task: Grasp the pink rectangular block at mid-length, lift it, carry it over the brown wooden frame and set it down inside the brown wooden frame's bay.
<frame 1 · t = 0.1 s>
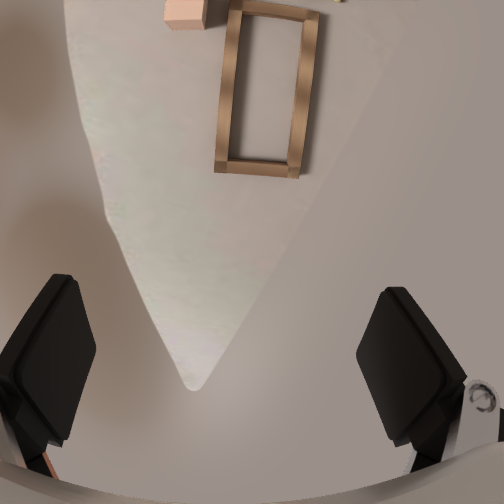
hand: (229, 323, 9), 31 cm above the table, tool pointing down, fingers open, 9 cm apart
brown wooden frame: (264, 87, 33), on the table
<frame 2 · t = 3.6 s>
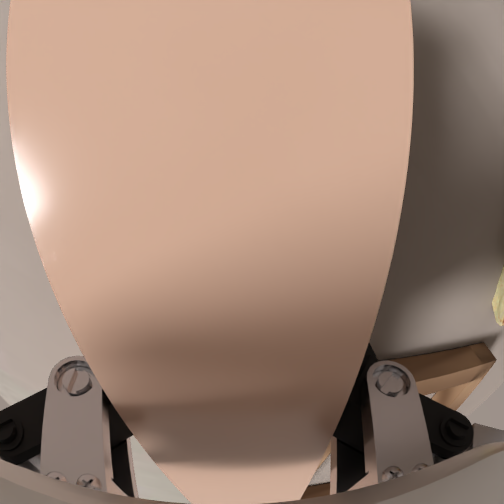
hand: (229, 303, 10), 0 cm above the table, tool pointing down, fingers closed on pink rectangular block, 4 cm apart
pink rectangular block: (228, 292, 10), on the table, touching gripper
brown wooden frame: (355, 448, 18), on the table
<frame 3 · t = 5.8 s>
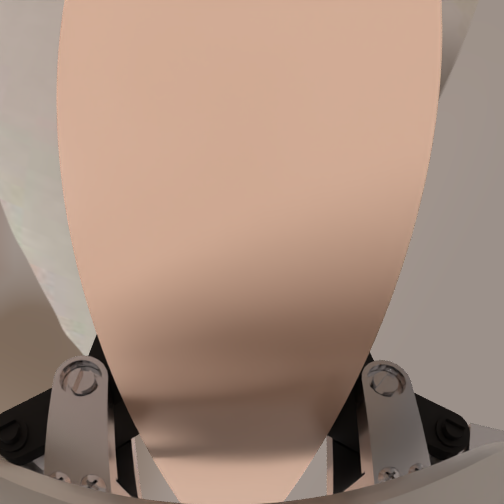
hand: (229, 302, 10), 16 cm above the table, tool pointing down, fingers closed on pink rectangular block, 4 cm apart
pink rectangular block: (228, 290, 10), point 15 cm above the table, touching gripper
when the fingers open (2 cm above the table, at t = 8.1 s): pink rectangular block drops 2 cm, resting in brown wooden frame.
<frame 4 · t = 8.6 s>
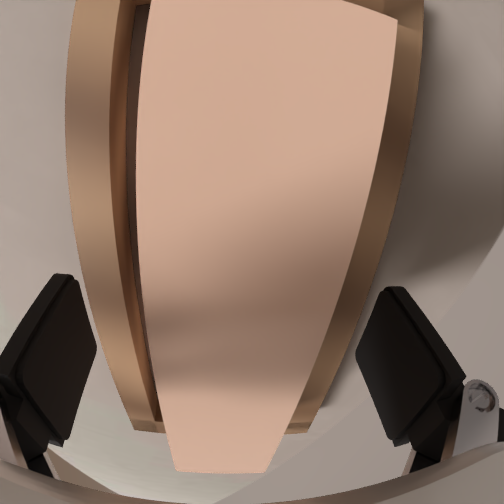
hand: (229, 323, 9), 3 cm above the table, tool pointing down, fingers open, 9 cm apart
pink rectangular block: (228, 258, 12), resting in brown wooden frame
brown wooden frame: (227, 265, 12), on the table
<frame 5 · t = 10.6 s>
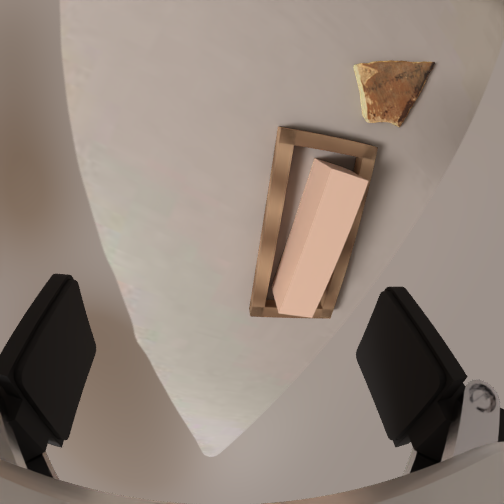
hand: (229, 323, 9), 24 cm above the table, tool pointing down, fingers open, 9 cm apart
pink rectangular block: (307, 229, 34), resting in brown wooden frame
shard: (384, 78, 27), on the table
brown wooden frame: (308, 231, 34), on the table
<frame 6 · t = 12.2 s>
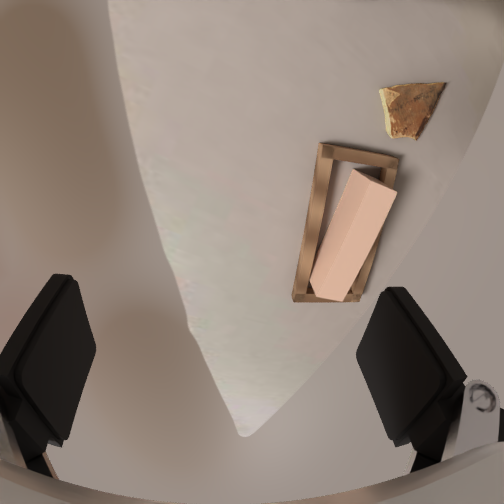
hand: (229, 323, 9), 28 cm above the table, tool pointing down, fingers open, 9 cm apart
pink rectangular block: (341, 227, 40), resting in brown wooden frame
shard: (404, 98, 32), on the table
brown wooden frame: (342, 229, 40), on the table
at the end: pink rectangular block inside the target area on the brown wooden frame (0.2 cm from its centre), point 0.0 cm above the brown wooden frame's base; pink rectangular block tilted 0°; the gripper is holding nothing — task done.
